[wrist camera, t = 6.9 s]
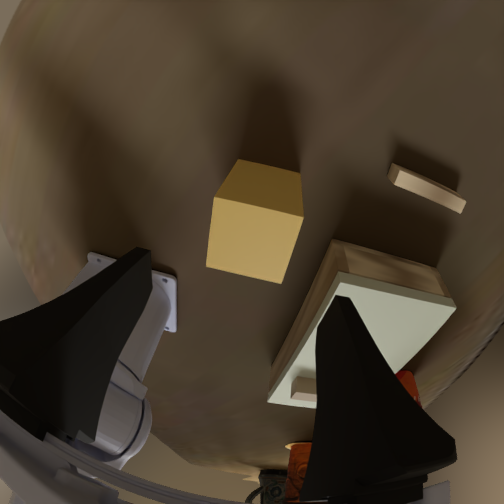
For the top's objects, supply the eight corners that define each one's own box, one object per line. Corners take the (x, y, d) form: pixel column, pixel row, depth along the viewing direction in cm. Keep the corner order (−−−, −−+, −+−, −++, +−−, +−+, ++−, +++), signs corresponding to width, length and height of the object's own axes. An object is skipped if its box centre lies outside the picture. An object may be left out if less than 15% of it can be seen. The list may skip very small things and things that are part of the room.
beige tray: (271, 366, 30) (268, 392, 27) (364, 152, 15) (381, 169, 12) (348, 377, 30) (350, 401, 27) (473, 201, 15) (496, 224, 12)
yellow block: (229, 212, 19) (206, 266, 14) (238, 158, 17) (214, 196, 12) (285, 225, 19) (281, 283, 14) (300, 173, 17) (303, 217, 12)
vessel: (341, 436, 45) (337, 519, 29) (347, 447, 52) (344, 515, 36) (276, 441, 50) (266, 519, 34) (293, 452, 57) (286, 516, 41)
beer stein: (299, 474, 85) (294, 523, 64) (254, 472, 88) (247, 520, 68) (300, 469, 75) (294, 525, 55) (249, 467, 79) (239, 521, 59)
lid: (268, 394, 27) (265, 415, 25) (338, 271, 16) (343, 302, 14) (350, 403, 27) (351, 422, 25) (452, 298, 16) (463, 324, 14)
